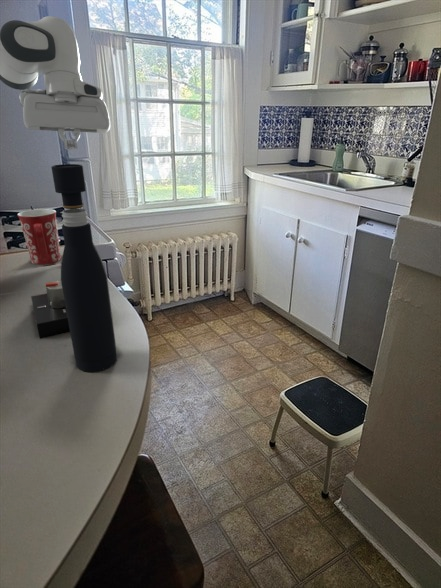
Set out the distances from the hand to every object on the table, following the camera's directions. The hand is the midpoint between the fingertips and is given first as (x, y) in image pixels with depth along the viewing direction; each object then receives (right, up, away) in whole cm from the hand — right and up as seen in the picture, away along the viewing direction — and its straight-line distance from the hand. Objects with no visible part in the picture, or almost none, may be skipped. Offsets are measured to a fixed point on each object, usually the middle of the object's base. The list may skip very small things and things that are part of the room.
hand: (71, 148), depth 98 cm
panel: (+7, -41, -22) cm, 47 cm away
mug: (-9, -29, +5) cm, 31 cm away
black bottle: (+18, -48, -35) cm, 62 cm away
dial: (+7, -38, -23) cm, 46 cm away
